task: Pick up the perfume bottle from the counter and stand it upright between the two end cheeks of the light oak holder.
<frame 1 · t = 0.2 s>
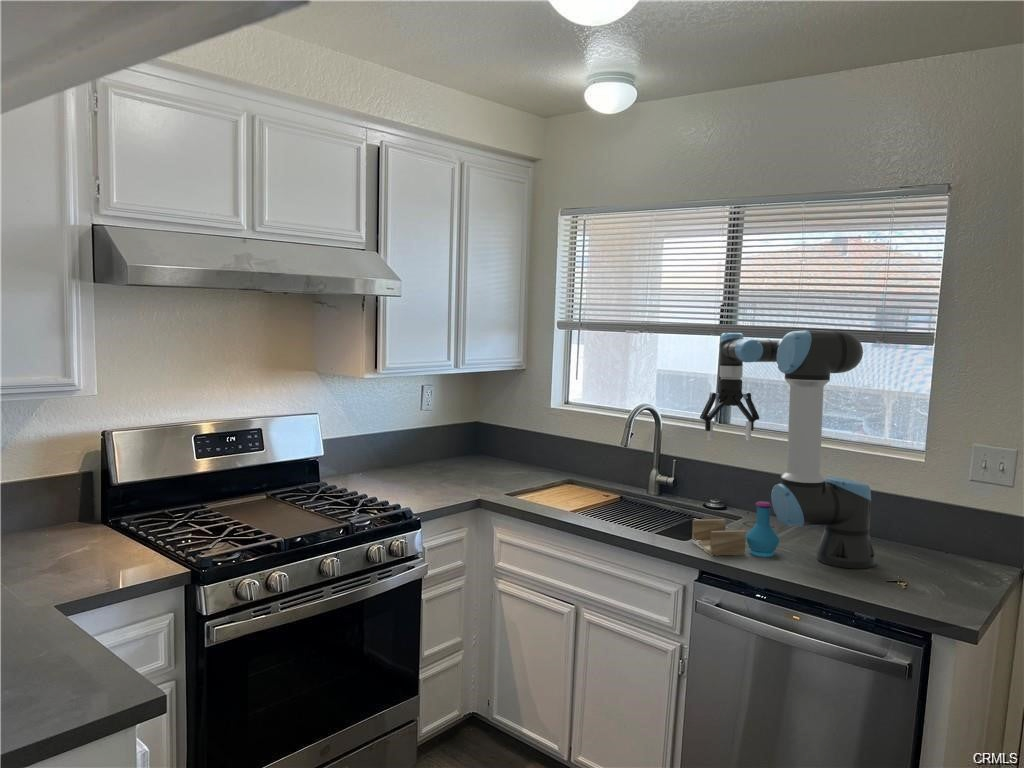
hand: (729, 440, 257), 28 cm above the worktop, fingers open, 13 cm apart
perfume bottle: (762, 554, 220), on the worktop
holder: (717, 548, 224), on the worktop
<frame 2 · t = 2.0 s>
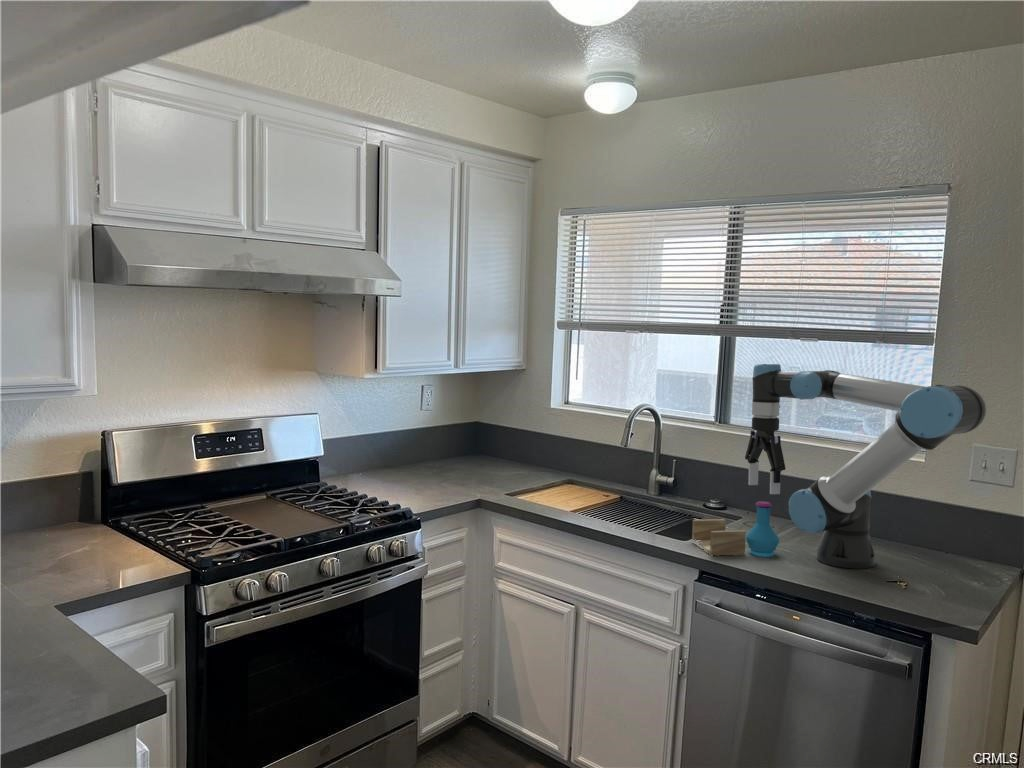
hand: (763, 489, 219), 19 cm above the worktop, fingers open, 13 cm apart
nothing on the worktop moved.
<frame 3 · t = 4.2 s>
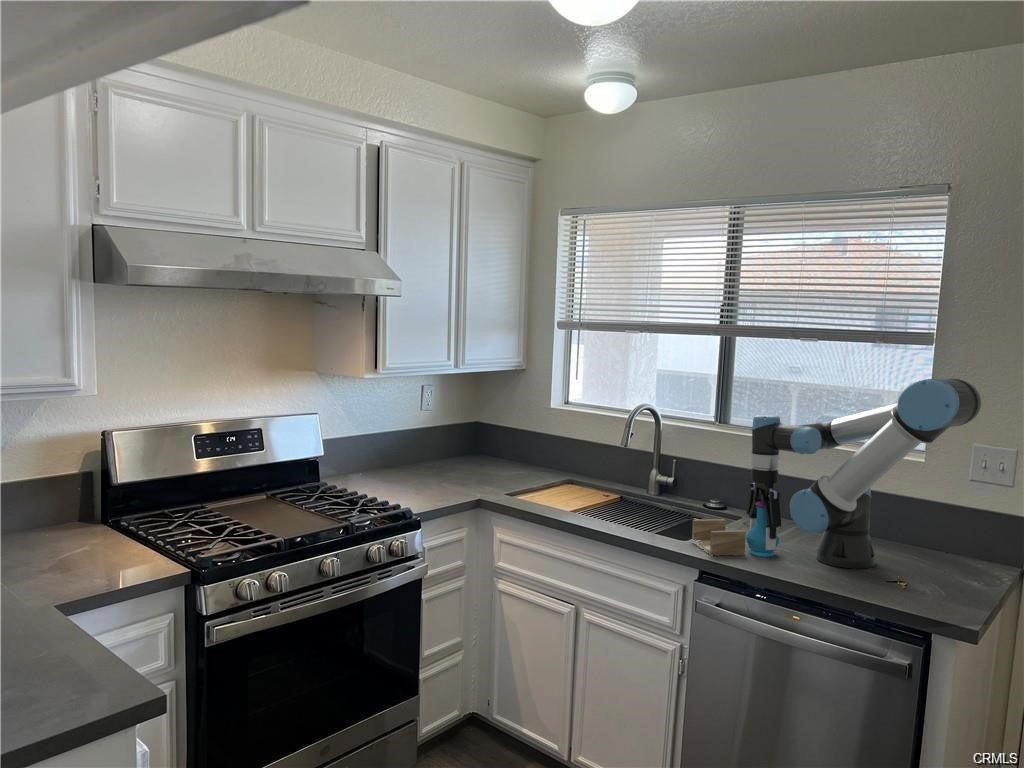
hand: (762, 544, 220), 3 cm above the worktop, fingers closed on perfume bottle, 9 cm apart
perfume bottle: (762, 553, 220), on the worktop, touching gripper
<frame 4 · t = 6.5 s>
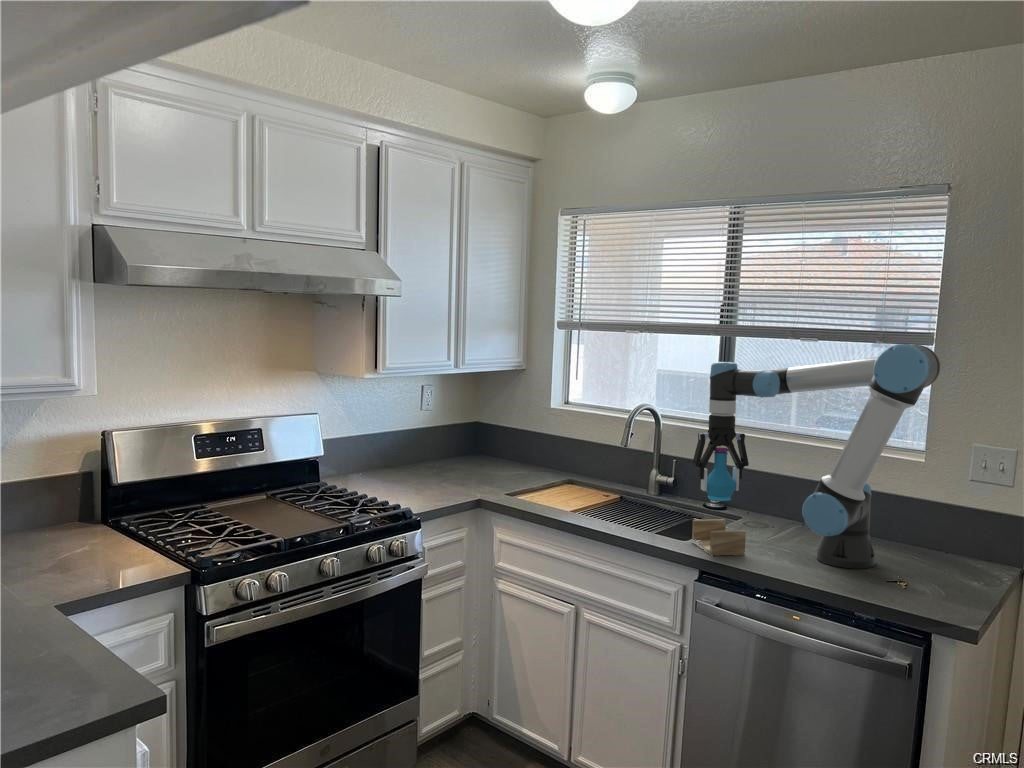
hand: (719, 489, 223), 18 cm above the worktop, fingers closed on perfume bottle, 9 cm apart
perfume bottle: (719, 499, 223), point 15 cm above the worktop, touching gripper
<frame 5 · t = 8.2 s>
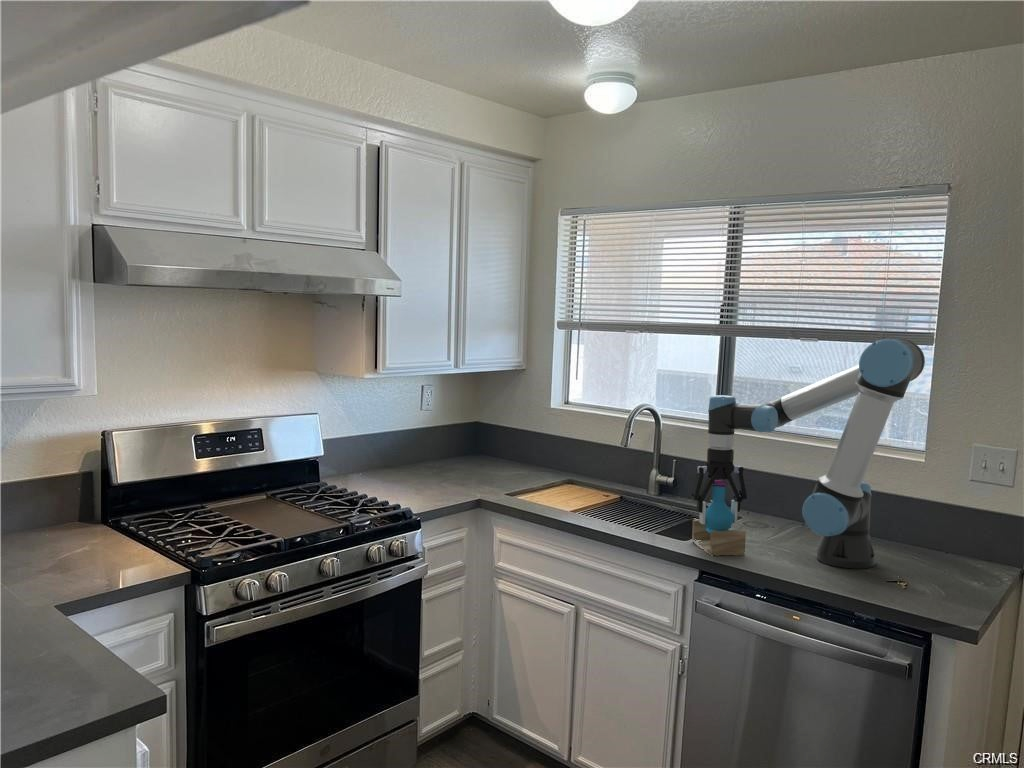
hand: (718, 522, 224), 8 cm above the worktop, fingers closed on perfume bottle, 9 cm apart
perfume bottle: (717, 531, 224), point 5 cm above the worktop, touching gripper
when the fingers open (5 cm above the worktop, at t = 9.2 s): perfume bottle drops 2 cm, resting on holder.
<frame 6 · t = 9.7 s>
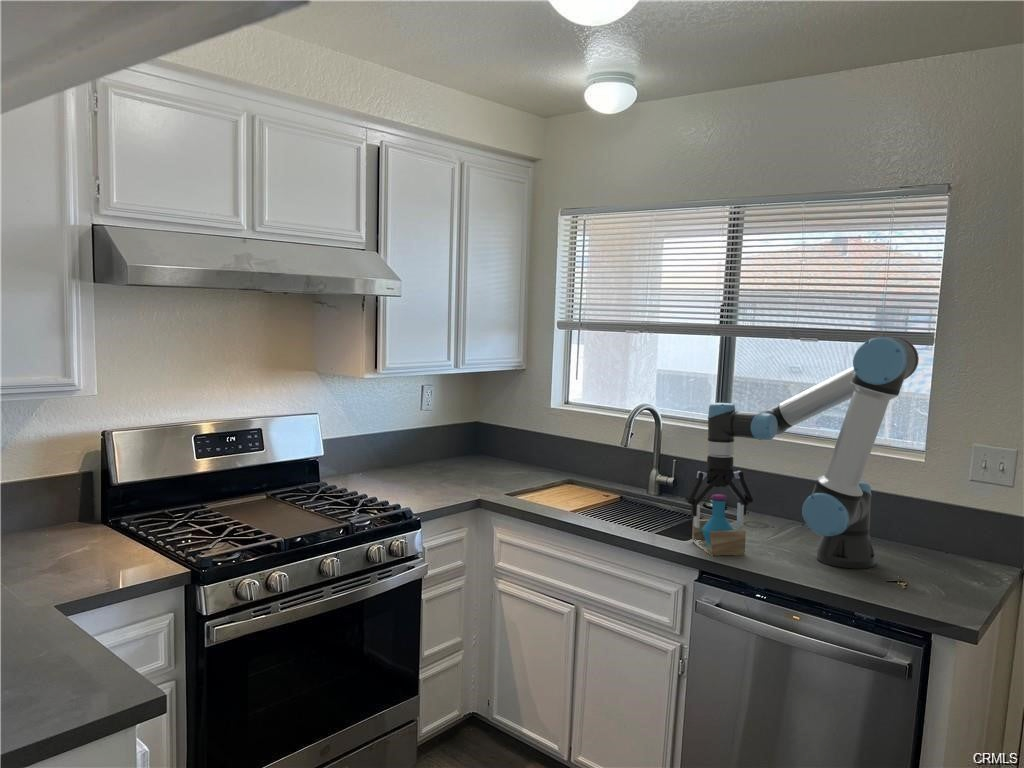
hand: (718, 526, 224), 7 cm above the worktop, fingers open, 13 cm apart
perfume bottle: (717, 545, 224), point 1 cm above the worktop, touching holder
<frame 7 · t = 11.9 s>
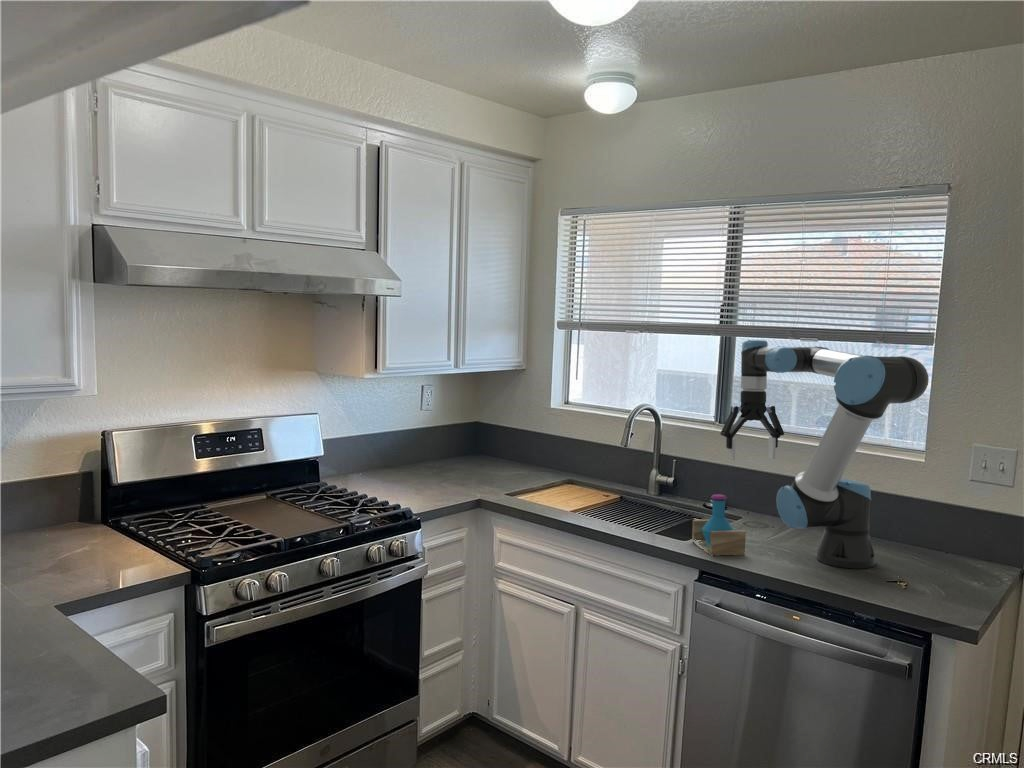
hand: (751, 458, 233), 25 cm above the worktop, fingers open, 13 cm apart
nothing on the worktop moved.
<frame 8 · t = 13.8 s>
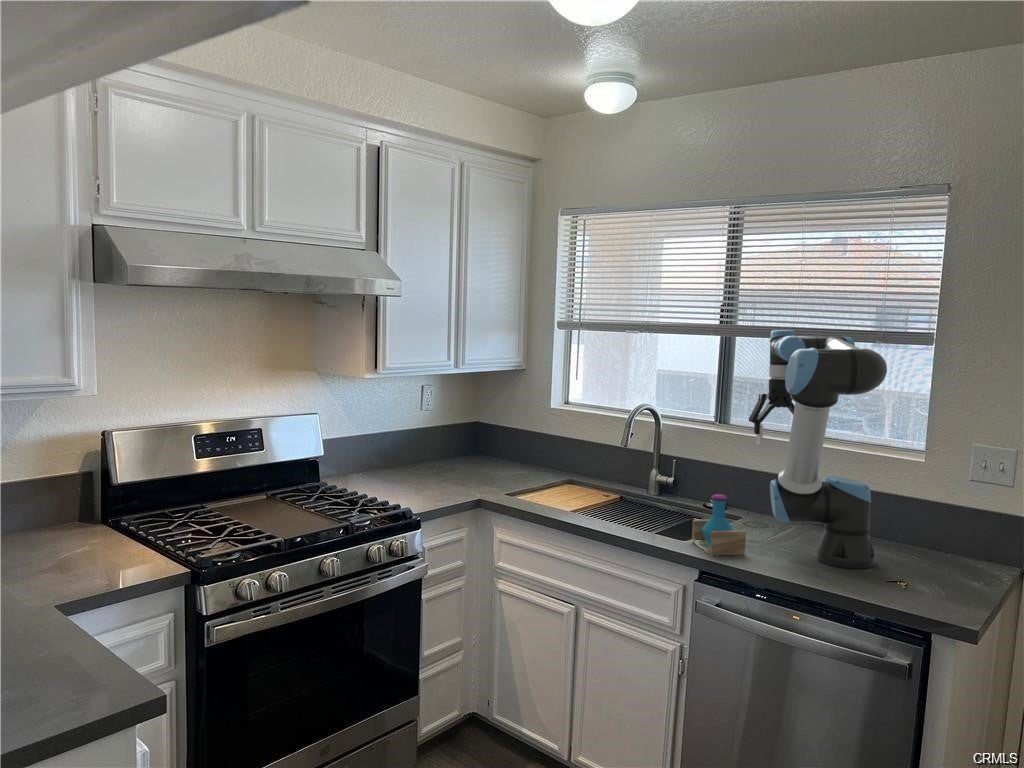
hand: (779, 444, 242), 29 cm above the worktop, fingers open, 13 cm apart
nothing on the worktop moved.
at the end: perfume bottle inside the target area on the holder (0.0 cm from its centre), point 0.8 cm above the holder's base; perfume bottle tilted 0°; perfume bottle touching holder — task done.
